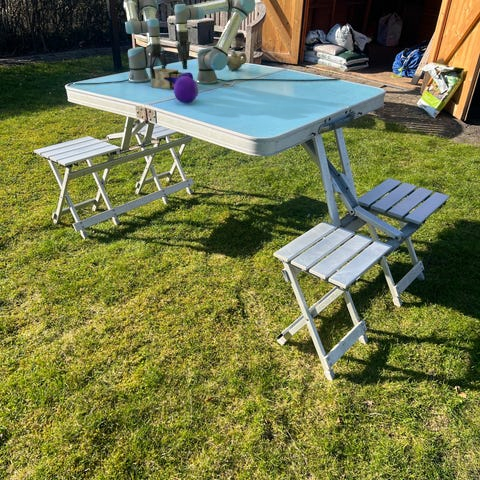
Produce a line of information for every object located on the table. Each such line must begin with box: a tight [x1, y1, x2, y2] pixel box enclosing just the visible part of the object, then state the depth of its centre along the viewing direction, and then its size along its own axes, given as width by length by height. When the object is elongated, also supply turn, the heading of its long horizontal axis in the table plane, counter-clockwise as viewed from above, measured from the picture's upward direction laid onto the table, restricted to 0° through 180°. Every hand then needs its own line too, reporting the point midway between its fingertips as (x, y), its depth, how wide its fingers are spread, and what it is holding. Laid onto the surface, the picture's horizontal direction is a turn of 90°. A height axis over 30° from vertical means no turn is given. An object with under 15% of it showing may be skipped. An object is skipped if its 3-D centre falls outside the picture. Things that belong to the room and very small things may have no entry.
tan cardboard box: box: [149, 67, 180, 90], centre depth 317 cm, size 18×10×11 cm, turn 56°
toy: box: [164, 72, 199, 104], centre depth 277 cm, size 16×18×27 cm
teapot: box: [226, 50, 247, 72], centre depth 367 cm, size 21×12×15 cm, turn 120°
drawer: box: [169, 71, 188, 87], centre depth 311 cm, size 22×9×9 cm, turn 56°
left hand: (158, 77), depth 320 cm, fingers closed on tan cardboard box, 10 cm apart
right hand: (185, 69), depth 303 cm, fingers closed
